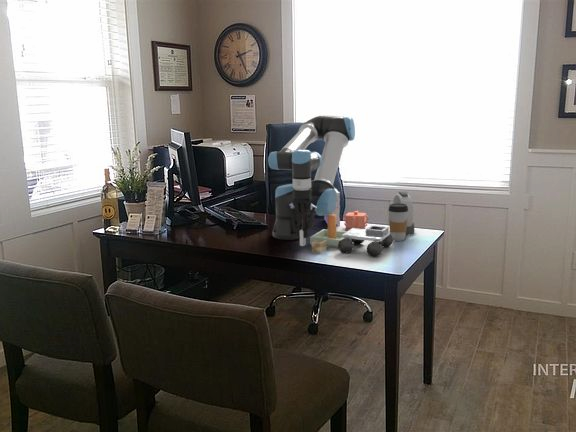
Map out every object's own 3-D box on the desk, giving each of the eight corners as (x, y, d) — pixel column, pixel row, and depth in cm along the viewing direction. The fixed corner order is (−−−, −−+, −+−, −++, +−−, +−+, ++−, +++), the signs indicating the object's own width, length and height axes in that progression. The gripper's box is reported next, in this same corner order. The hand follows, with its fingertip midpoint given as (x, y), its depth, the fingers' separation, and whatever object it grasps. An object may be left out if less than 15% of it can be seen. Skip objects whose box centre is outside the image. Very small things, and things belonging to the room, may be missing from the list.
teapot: (340, 232, 250) (340, 214, 249) (345, 224, 265) (345, 207, 263) (366, 233, 248) (366, 215, 246) (370, 225, 262) (370, 208, 260)
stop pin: (326, 240, 233) (326, 215, 231) (329, 238, 236) (329, 213, 234) (334, 241, 231) (333, 216, 229) (337, 239, 234) (337, 214, 232)
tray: (310, 244, 231) (310, 236, 230) (323, 236, 243) (323, 229, 243) (341, 248, 225) (341, 240, 224) (353, 240, 237) (353, 232, 236)
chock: (311, 252, 221) (311, 242, 220) (318, 248, 226) (317, 239, 225) (320, 253, 219) (320, 243, 218) (326, 249, 225) (326, 240, 224)
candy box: (323, 219, 275) (323, 187, 272) (335, 219, 276) (335, 187, 272) (328, 226, 262) (327, 192, 258) (340, 225, 262) (340, 192, 259)
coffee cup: (407, 241, 232) (408, 207, 229) (387, 241, 234) (388, 206, 231) (407, 236, 240) (408, 203, 237) (388, 236, 242) (388, 203, 239)
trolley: (338, 252, 219) (337, 230, 217) (352, 242, 233) (352, 222, 231) (380, 257, 211) (381, 235, 209) (393, 247, 225) (393, 225, 223)
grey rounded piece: (418, 235, 243) (419, 194, 238) (395, 236, 242) (396, 195, 238) (408, 226, 258) (409, 188, 254) (386, 227, 258) (387, 189, 253)
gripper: (283, 189, 220) (284, 245, 226) (312, 191, 215) (313, 249, 220) (291, 186, 227) (292, 241, 232) (320, 188, 221) (321, 244, 226)
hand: (302, 245), depth 226 cm, fingers closed
